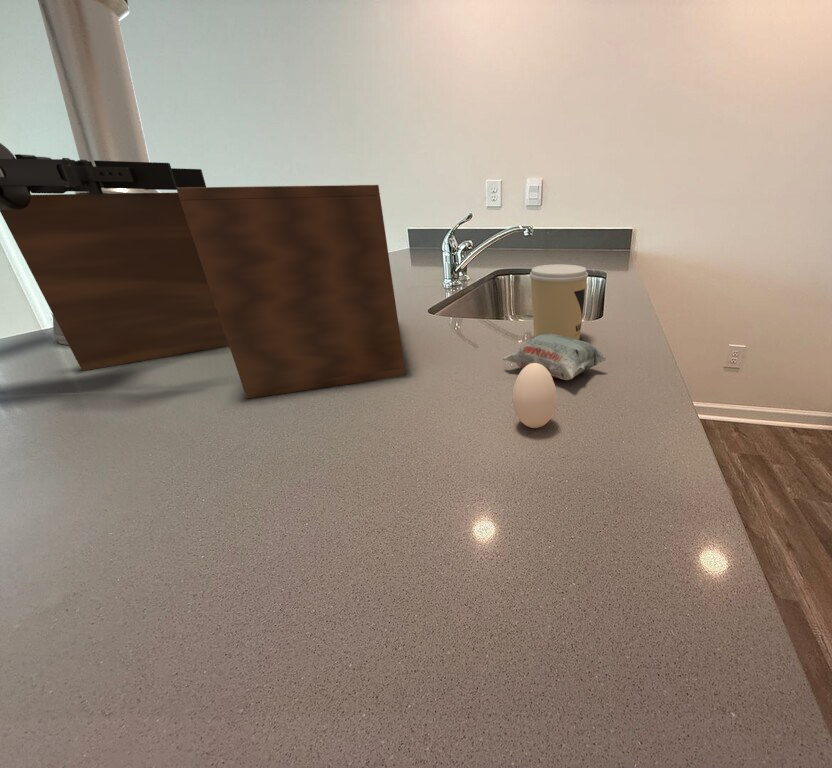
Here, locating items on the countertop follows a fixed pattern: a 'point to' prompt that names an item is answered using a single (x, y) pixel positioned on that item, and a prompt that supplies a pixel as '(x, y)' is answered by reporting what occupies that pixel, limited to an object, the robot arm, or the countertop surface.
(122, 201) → the cupboard door
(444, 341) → the countertop surface
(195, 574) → the countertop surface
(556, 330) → the coffee cup
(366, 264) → the wooden board
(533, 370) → the egg
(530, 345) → the packaged food
